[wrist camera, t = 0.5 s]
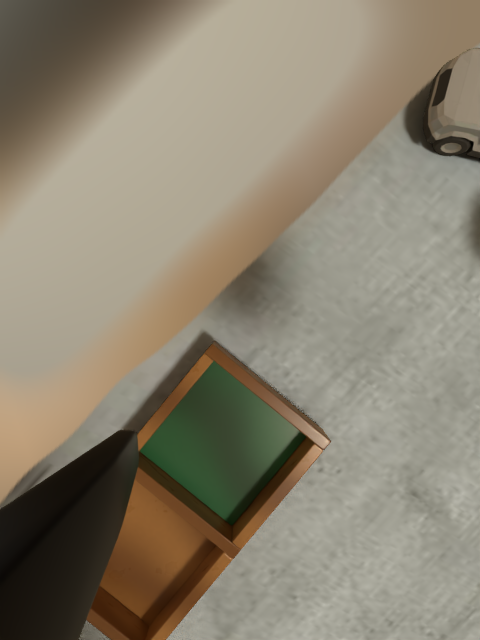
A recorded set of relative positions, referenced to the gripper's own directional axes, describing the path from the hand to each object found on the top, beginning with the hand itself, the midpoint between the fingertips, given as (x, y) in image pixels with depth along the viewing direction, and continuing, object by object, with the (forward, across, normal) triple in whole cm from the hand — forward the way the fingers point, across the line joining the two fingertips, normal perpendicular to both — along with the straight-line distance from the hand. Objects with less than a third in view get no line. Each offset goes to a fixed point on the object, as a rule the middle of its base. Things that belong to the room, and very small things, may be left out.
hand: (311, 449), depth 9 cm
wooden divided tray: (+12, +6, +13) cm, 19 cm away
